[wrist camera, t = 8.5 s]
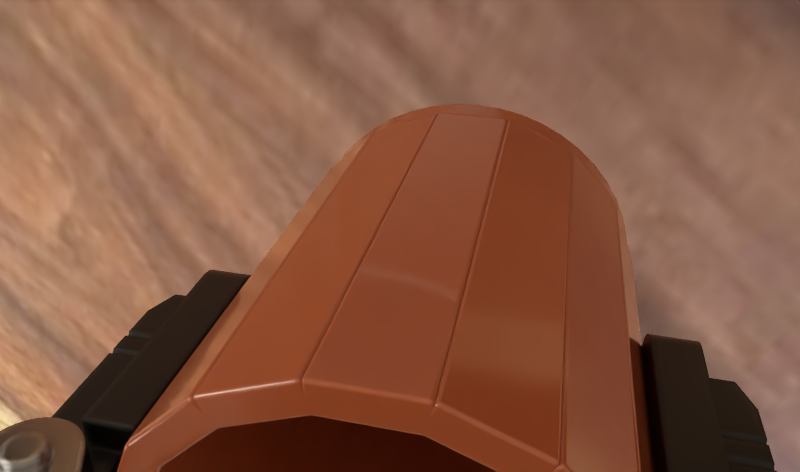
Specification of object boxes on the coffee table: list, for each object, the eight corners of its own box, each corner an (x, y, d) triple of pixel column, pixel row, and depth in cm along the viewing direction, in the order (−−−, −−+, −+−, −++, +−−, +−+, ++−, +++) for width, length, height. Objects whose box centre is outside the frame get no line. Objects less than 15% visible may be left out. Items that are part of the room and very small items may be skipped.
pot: (312, 88, 13) (52, 336, 7) (656, 119, 12) (742, 454, 5) (325, 346, 16) (156, 685, 10) (598, 390, 15) (610, 806, 9)
